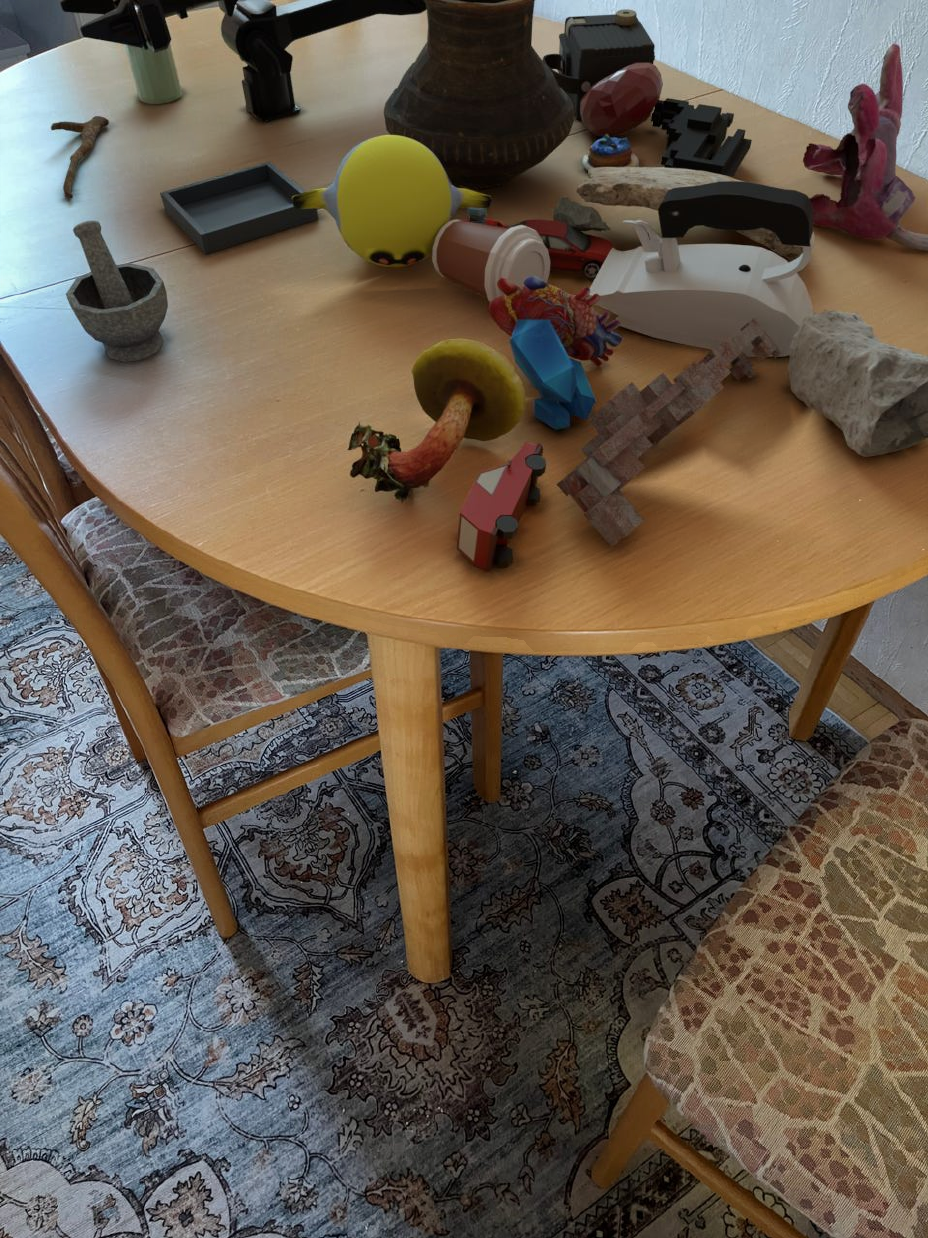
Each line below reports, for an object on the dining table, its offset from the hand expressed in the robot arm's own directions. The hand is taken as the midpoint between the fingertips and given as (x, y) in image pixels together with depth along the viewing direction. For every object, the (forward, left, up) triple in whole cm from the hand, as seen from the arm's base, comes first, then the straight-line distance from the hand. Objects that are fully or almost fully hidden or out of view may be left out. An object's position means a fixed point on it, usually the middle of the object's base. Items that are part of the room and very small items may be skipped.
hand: (71, 19), depth 119 cm
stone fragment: (-55, +60, -14) cm, 82 cm away
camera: (-74, +31, -11) cm, 80 cm away
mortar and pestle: (+15, +49, -17) cm, 54 cm away
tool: (-65, +52, -17) cm, 84 cm away
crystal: (-15, +90, -14) cm, 93 cm away
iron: (-39, +82, -17) cm, 92 cm away
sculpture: (-36, +92, -13) cm, 99 cm away
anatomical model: (-16, +77, -5) cm, 79 cm away
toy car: (-32, +63, -17) cm, 73 cm away
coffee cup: (-22, +58, -13) cm, 63 cm away
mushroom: (+3, +92, -12) cm, 93 cm away
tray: (-7, +29, -16) cm, 35 cm away
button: (-29, +53, -11) cm, 61 cm away
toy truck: (-4, +98, -14) cm, 99 cm away
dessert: (-55, +48, -18) cm, 75 cm away
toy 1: (-20, +46, -16) cm, 52 cm away
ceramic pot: (-39, +38, -16) cm, 57 cm away
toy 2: (-67, +70, -7) cm, 97 cm away
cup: (-13, -15, -16) cm, 26 cm away
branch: (+4, +1, -17) cm, 17 cm away
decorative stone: (-40, +109, -9) cm, 117 cm away
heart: (-58, +43, -12) cm, 74 cm away
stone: (-36, +60, -11) cm, 70 cm away
